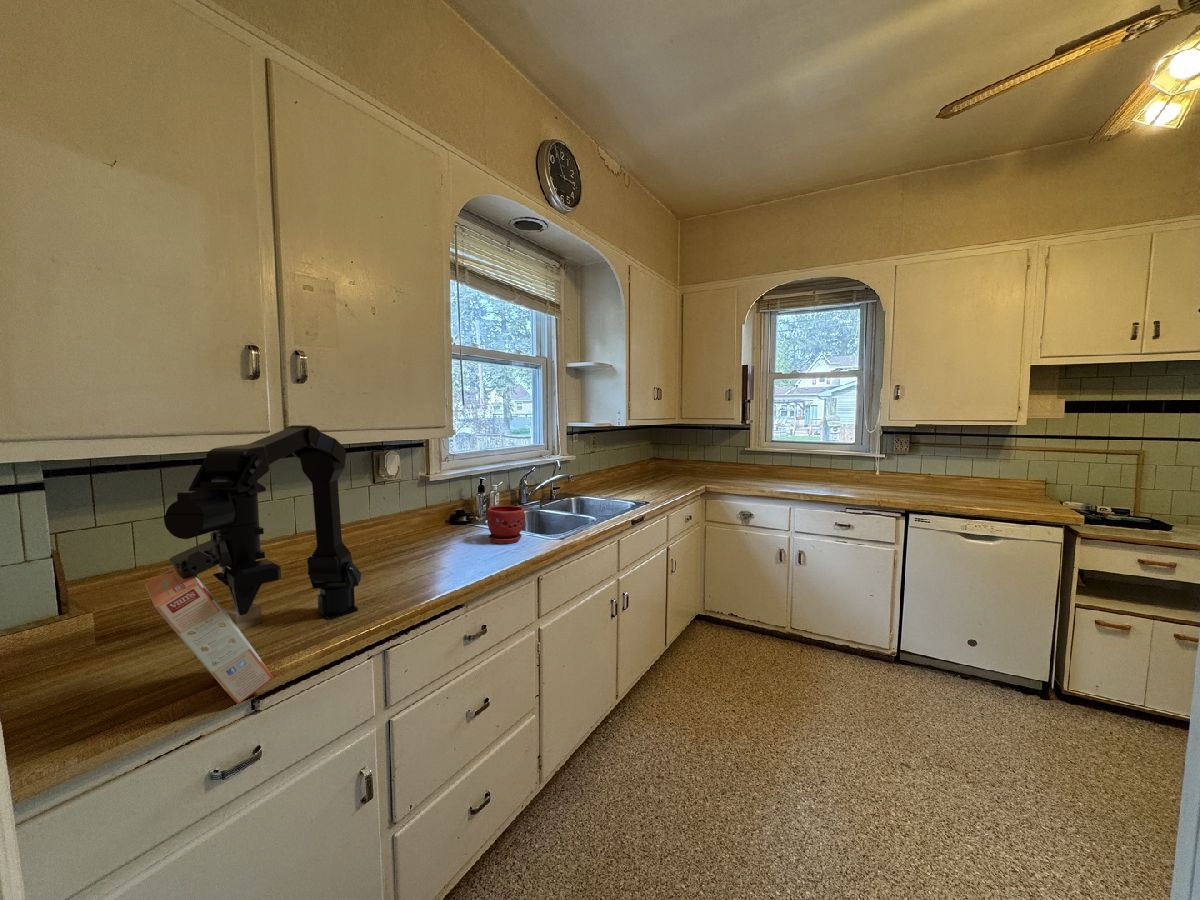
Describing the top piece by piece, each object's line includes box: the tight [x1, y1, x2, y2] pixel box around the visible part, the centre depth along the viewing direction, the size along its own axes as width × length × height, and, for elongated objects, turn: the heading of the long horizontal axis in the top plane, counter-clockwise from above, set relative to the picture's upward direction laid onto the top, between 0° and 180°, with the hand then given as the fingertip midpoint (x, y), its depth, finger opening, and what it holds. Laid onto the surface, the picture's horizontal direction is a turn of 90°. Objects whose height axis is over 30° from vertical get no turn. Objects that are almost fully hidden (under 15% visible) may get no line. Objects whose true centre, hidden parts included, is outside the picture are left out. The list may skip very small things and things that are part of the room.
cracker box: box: [144, 566, 274, 705], centre depth 76 cm, size 14×6×21 cm, turn 48°
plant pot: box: [486, 505, 525, 544], centre depth 169 cm, size 13×13×12 cm
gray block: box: [223, 603, 262, 632], centre depth 102 cm, size 5×5×4 cm
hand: (242, 614), depth 79 cm, fingers closed
